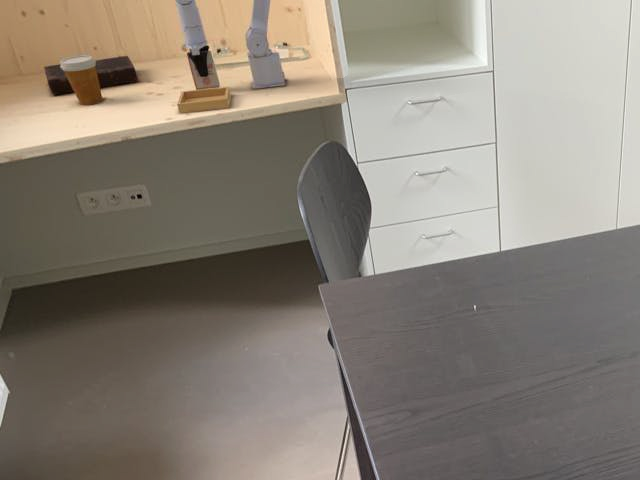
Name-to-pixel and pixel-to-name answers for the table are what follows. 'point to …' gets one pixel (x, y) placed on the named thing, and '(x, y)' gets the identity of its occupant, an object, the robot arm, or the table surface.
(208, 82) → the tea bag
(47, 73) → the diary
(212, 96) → the tray
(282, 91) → the table surface
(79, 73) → the disposable coffee cup
